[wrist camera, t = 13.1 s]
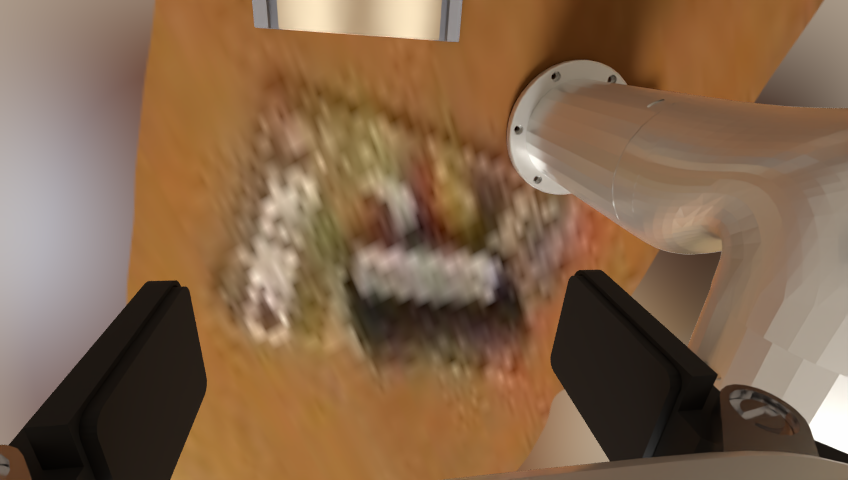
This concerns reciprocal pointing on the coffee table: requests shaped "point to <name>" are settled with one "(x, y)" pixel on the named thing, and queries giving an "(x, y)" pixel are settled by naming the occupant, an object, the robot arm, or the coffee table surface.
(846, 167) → the robot arm
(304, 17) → the ledge
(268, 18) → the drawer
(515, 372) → the coffee table surface
